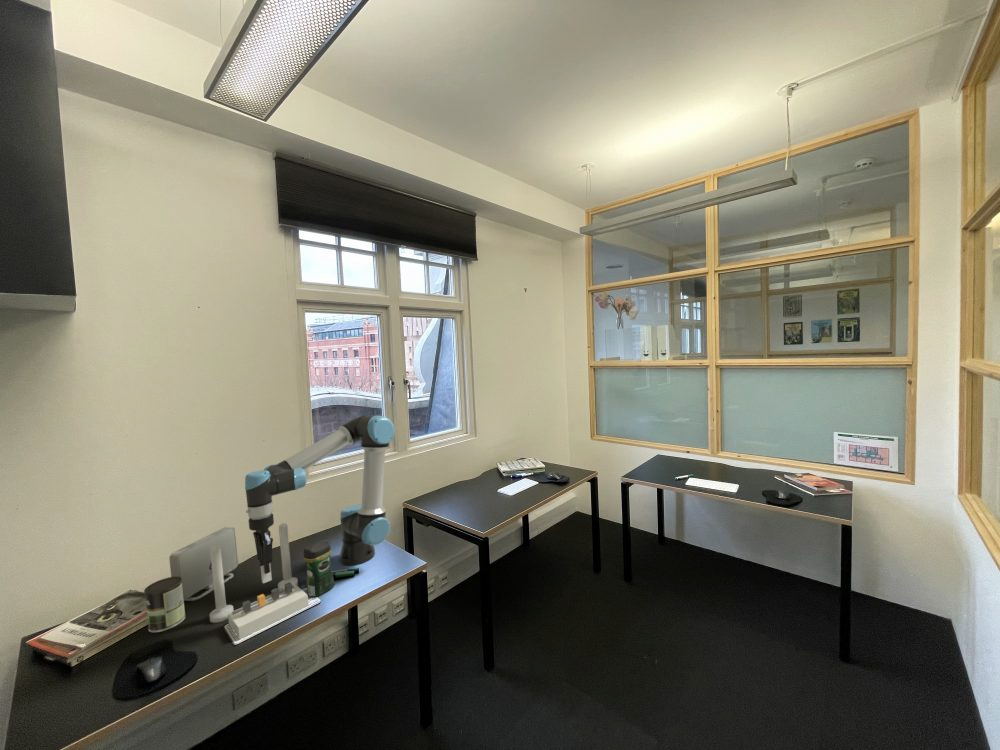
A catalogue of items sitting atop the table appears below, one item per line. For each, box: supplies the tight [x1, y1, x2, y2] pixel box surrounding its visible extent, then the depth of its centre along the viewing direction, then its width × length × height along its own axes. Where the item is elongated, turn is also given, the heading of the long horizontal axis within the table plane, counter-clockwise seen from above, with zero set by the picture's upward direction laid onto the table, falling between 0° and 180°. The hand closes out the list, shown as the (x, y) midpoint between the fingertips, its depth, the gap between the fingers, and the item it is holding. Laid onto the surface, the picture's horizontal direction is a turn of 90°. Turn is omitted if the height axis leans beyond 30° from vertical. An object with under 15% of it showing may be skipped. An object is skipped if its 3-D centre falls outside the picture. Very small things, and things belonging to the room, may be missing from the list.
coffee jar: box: [303, 539, 335, 597], centre depth 156 cm, size 10×8×19 cm
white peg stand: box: [209, 545, 235, 624], centre depth 143 cm, size 7×7×26 cm
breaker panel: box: [228, 584, 309, 640], centre depth 142 cm, size 22×12×4 cm, turn 138°
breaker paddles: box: [241, 582, 294, 615], centre depth 142 cm, size 17×2×4 cm, turn 138°
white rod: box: [277, 522, 299, 591], centre depth 160 cm, size 7×7×26 cm
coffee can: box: [143, 576, 186, 634], centre depth 141 cm, size 10×10×14 cm
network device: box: [168, 526, 239, 602], centre depth 164 cm, size 26×9×20 cm, turn 168°
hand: (266, 580), depth 142 cm, fingers closed
